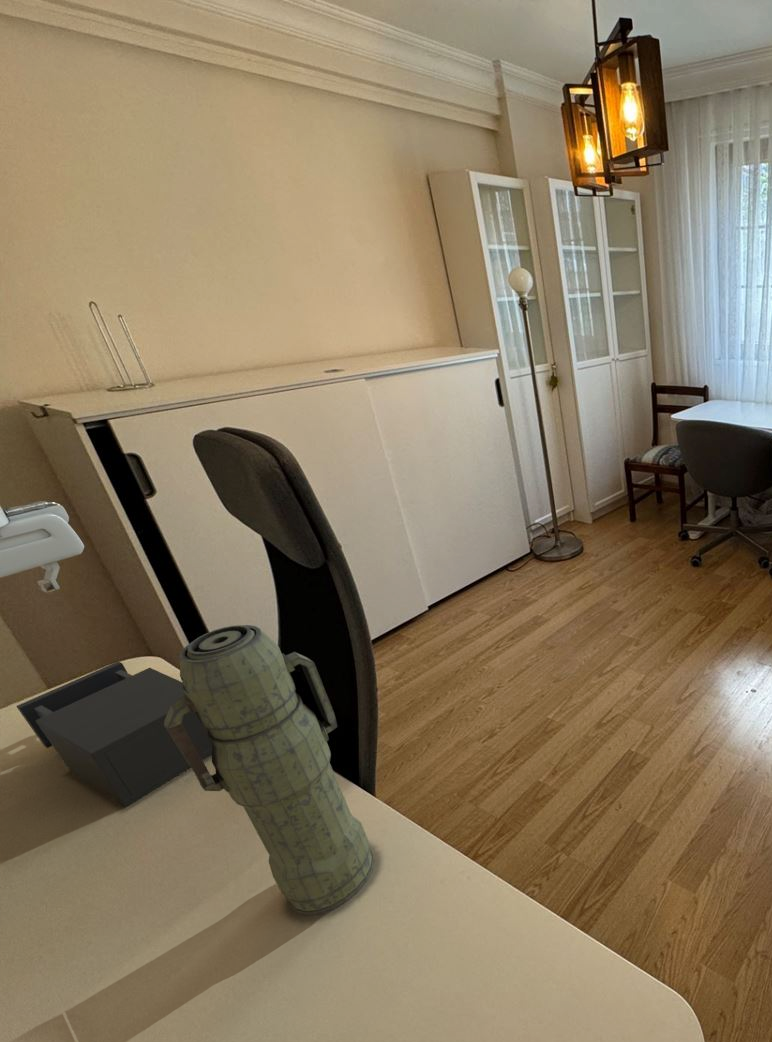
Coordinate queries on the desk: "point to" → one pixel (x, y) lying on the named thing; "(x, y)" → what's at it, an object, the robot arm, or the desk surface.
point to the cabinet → (125, 736)
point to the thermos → (273, 762)
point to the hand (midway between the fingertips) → (7, 604)
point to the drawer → (69, 695)
